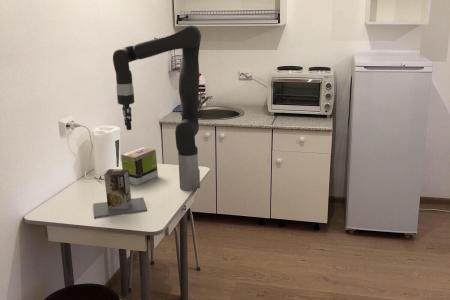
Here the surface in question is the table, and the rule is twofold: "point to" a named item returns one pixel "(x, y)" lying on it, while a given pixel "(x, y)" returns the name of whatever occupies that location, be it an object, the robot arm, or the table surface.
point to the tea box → (140, 164)
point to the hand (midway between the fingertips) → (128, 127)
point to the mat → (103, 210)
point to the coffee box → (118, 188)
